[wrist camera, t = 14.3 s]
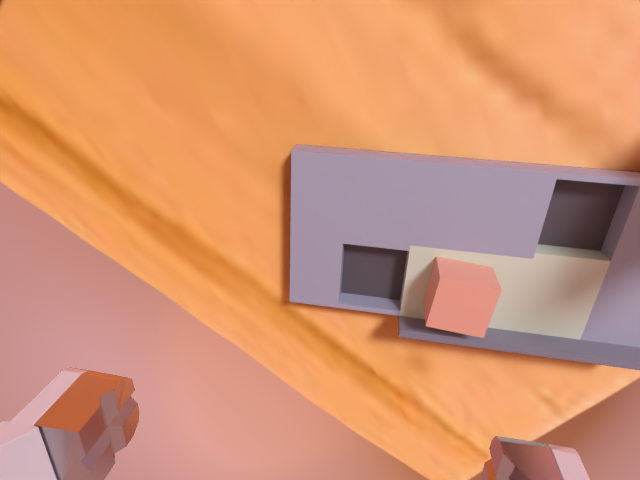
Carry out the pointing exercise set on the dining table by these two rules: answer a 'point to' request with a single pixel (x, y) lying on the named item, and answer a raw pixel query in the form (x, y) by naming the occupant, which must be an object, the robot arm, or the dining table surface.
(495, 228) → the board
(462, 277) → the block
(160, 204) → the dining table surface
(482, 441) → the dining table surface
